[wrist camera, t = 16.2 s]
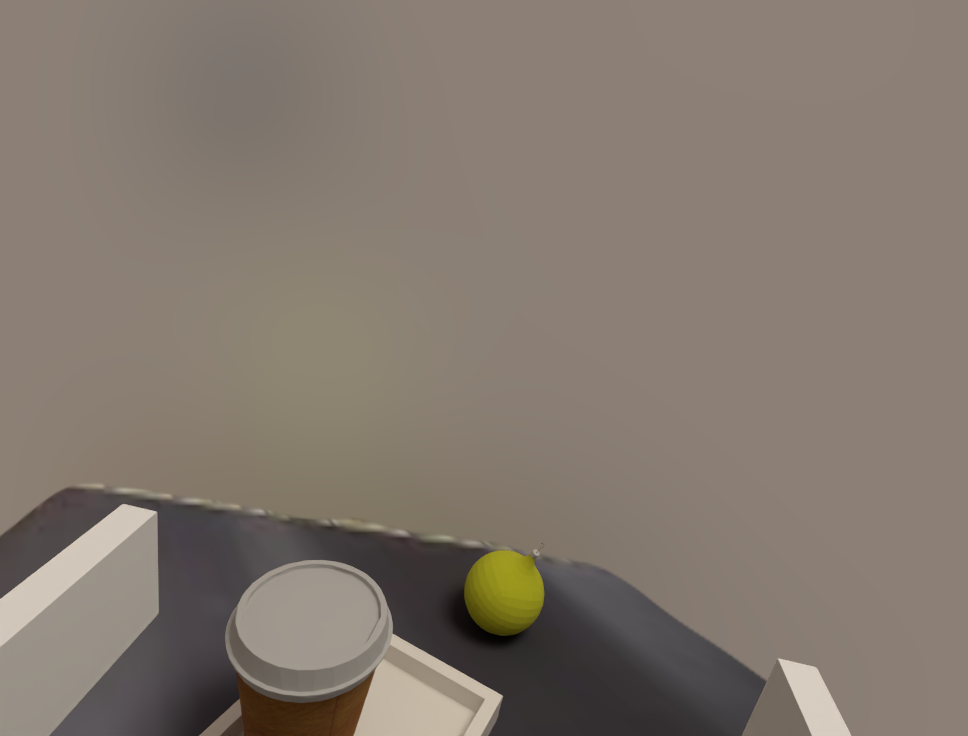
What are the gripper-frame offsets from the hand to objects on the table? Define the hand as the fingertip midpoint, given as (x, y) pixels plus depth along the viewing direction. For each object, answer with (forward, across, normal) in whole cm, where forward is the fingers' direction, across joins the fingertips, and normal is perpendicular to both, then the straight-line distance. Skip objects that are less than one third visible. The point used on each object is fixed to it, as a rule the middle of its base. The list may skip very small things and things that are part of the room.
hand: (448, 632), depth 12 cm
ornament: (+33, +3, -30) cm, 45 cm away
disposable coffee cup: (+17, -8, -29) cm, 35 cm away
